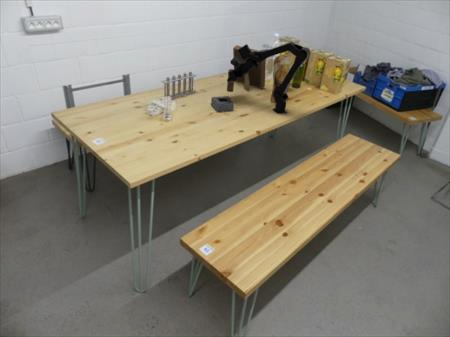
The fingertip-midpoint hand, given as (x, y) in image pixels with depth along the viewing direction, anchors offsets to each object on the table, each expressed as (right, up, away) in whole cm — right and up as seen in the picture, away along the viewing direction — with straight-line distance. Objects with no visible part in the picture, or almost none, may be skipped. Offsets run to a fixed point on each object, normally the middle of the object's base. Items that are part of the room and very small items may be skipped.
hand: (228, 79), depth 220 cm
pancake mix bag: (+31, -10, +10) cm, 34 cm away
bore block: (-4, -19, -9) cm, 21 cm away
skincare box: (+37, -1, +26) cm, 45 cm away
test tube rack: (-31, -9, +2) cm, 32 cm away
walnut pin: (+1, -6, +3) cm, 7 cm away
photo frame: (+11, +1, +25) cm, 28 cm away
